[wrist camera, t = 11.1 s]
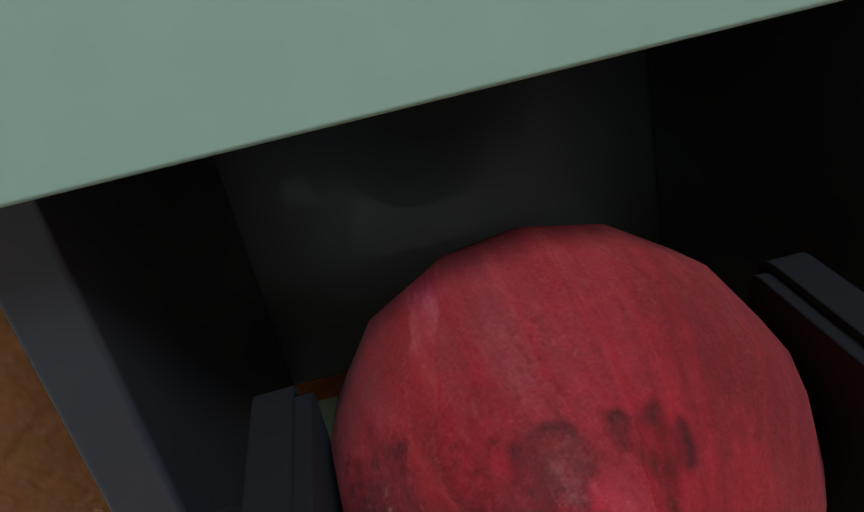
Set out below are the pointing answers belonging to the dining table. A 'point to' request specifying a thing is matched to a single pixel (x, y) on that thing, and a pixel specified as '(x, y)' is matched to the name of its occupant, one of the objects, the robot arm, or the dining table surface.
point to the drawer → (413, 231)
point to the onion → (573, 388)
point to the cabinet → (281, 69)
